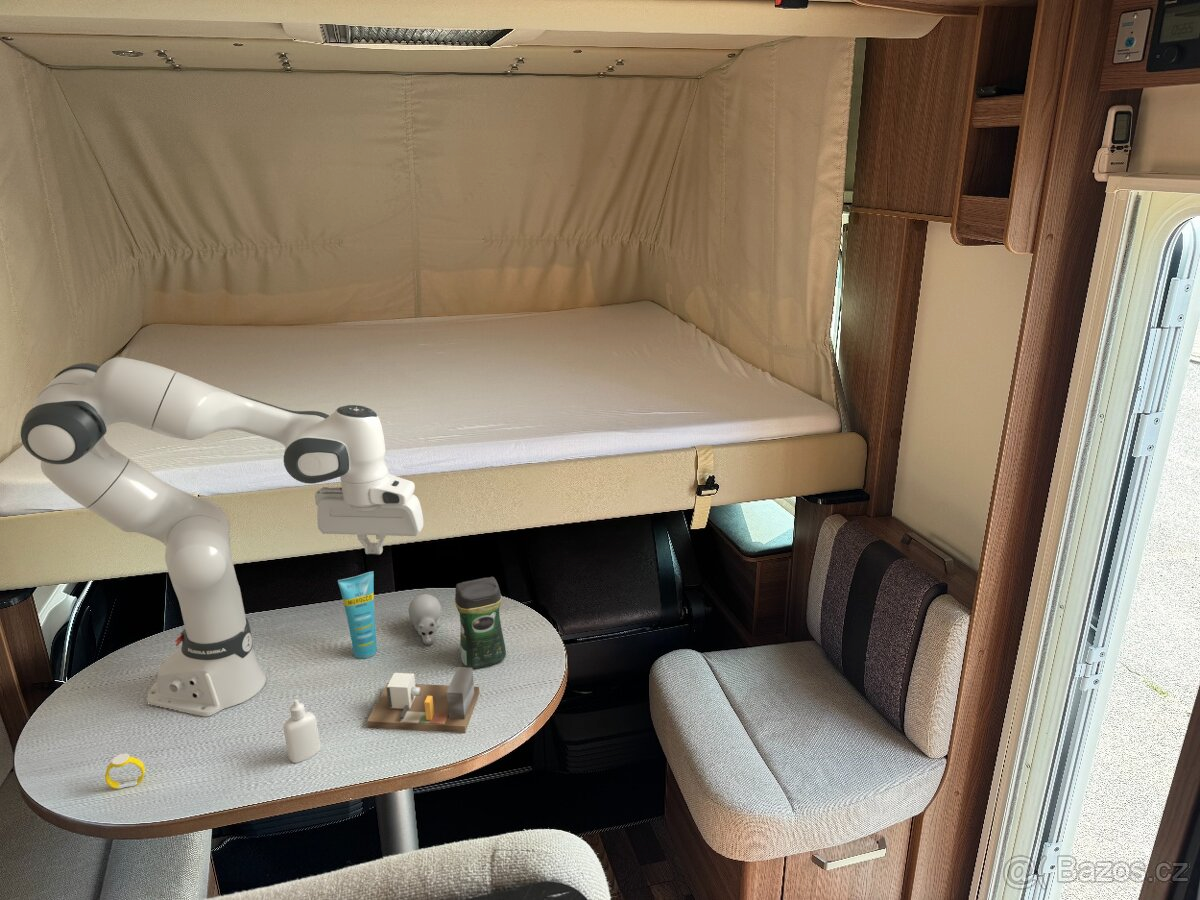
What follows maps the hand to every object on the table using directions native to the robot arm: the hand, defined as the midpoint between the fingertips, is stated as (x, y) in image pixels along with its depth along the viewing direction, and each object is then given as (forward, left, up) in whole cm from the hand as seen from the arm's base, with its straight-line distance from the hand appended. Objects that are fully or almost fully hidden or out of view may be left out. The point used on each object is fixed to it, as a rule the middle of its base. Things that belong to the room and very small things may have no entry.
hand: (374, 552), depth 168 cm
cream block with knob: (+7, -12, -27) cm, 30 cm away
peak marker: (+13, -14, -27) cm, 33 cm away
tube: (-8, +8, -29) cm, 31 cm away
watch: (-36, -34, -29) cm, 58 cm away
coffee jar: (+18, +8, -29) cm, 35 cm away
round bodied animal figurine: (+3, +16, -29) cm, 34 cm away
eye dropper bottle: (-8, -24, -29) cm, 39 cm away
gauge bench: (+10, -10, -29) cm, 32 cm away
